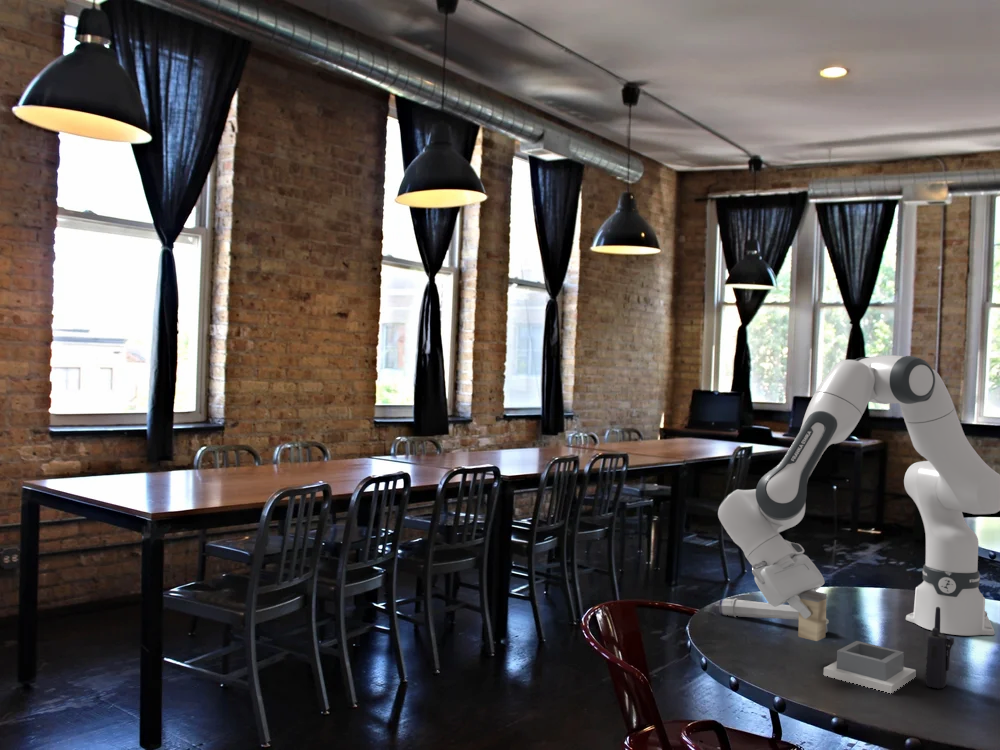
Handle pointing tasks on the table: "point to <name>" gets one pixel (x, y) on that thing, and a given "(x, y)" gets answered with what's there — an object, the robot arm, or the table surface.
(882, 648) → the tool holder
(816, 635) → the light wood tall block
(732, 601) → the white long handled device
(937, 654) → the two-way radio
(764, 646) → the table surface
